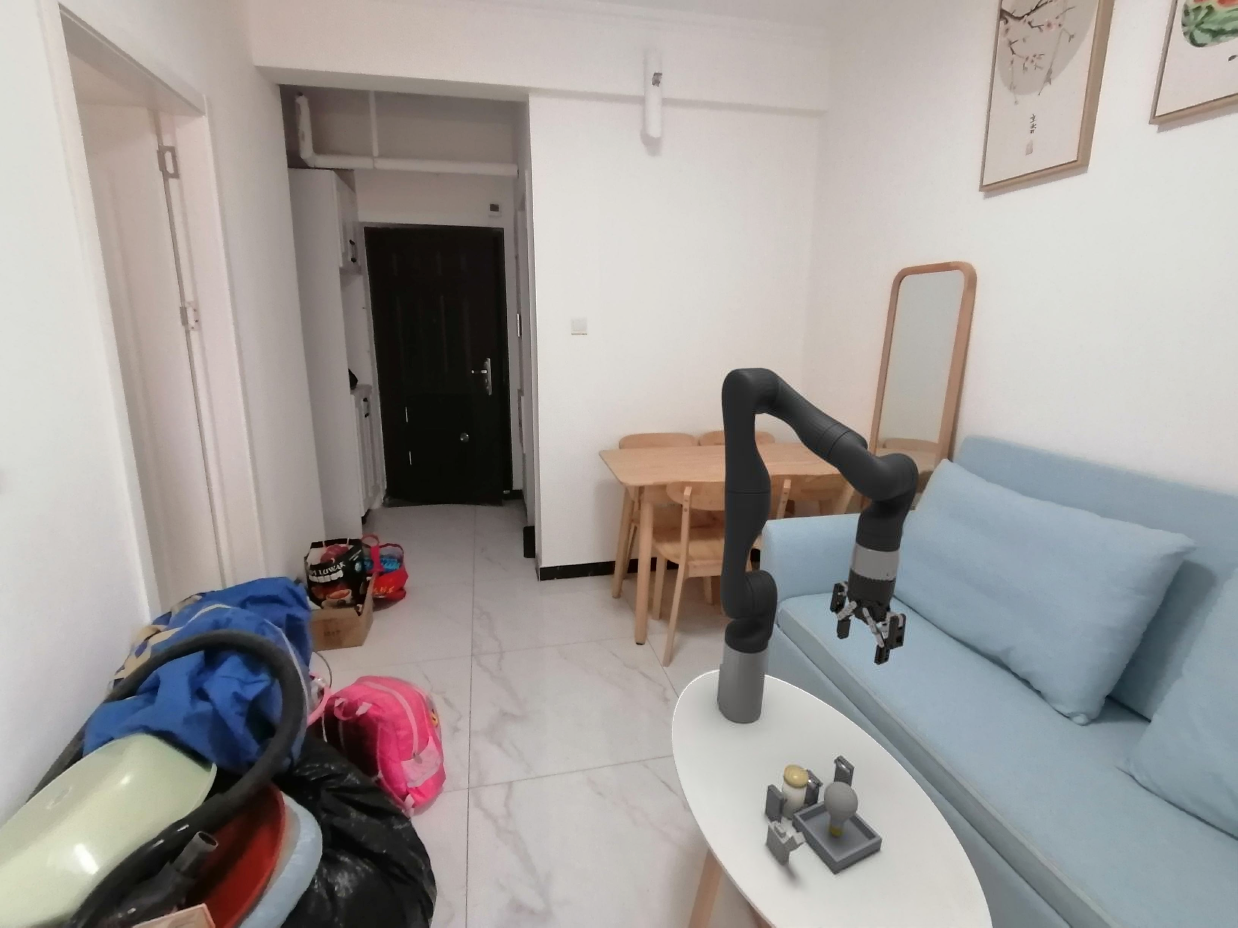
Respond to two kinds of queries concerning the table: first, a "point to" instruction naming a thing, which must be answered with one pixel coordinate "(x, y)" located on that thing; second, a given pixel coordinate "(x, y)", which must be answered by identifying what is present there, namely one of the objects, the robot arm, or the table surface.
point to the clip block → (777, 799)
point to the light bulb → (839, 805)
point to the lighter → (782, 841)
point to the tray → (836, 837)
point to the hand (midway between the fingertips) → (860, 649)
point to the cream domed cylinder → (794, 789)
